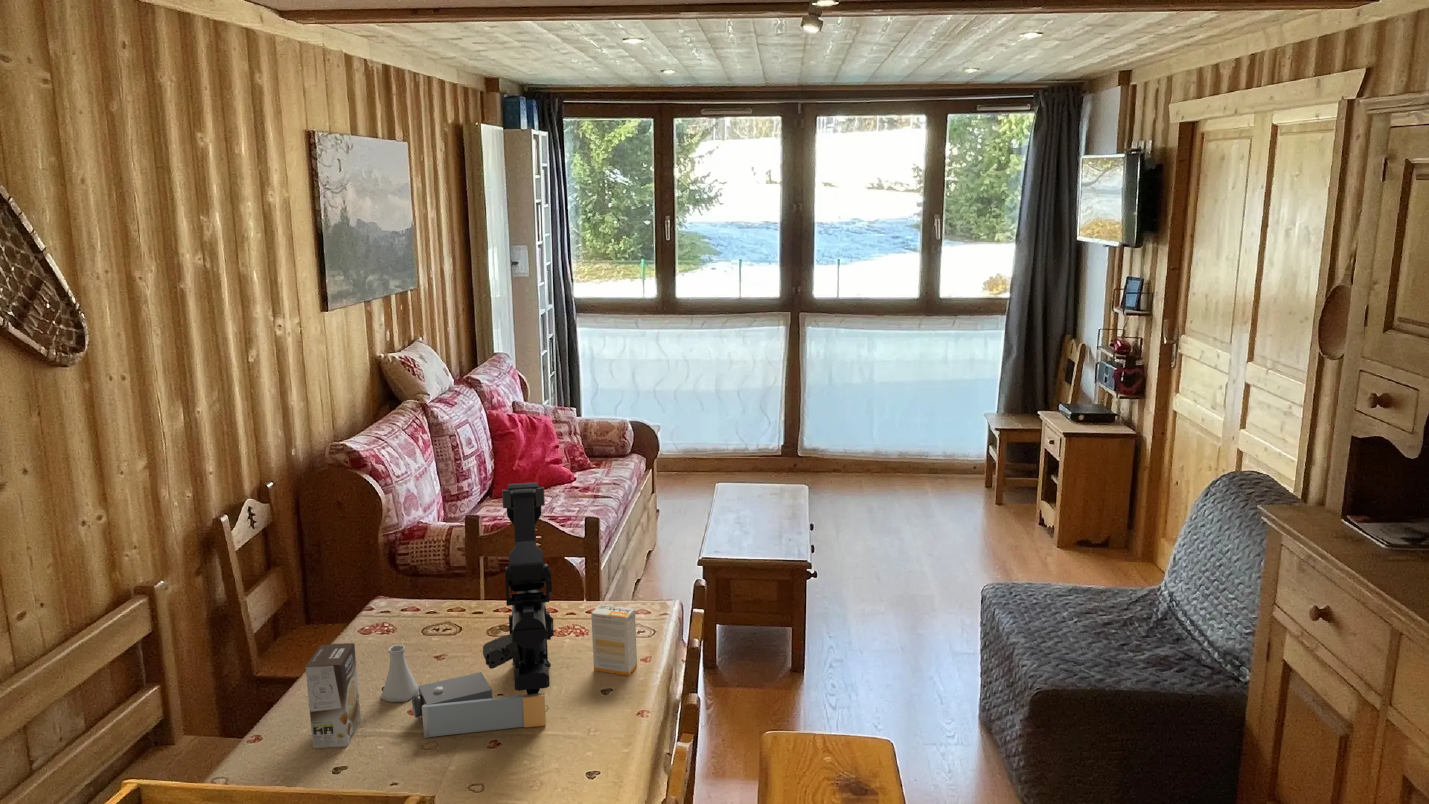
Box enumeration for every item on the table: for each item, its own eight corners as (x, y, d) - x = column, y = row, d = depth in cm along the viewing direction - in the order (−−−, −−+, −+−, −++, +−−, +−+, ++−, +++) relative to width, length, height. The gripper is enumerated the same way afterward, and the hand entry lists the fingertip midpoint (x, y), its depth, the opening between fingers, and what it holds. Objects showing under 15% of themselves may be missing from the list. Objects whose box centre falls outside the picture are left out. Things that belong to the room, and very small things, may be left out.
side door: (545, 721, 187) (544, 692, 186) (545, 725, 186) (544, 695, 184) (424, 734, 183) (422, 704, 181) (423, 738, 181) (421, 708, 180)
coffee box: (348, 747, 179) (341, 665, 176) (312, 749, 179) (303, 666, 175) (362, 720, 188) (355, 642, 185) (327, 722, 188) (319, 643, 184)
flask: (408, 705, 194) (404, 658, 192) (374, 701, 195) (370, 654, 193) (425, 687, 201) (422, 641, 199) (393, 684, 202) (389, 638, 200)
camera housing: (482, 699, 195) (480, 669, 194) (493, 718, 188) (491, 686, 187) (412, 716, 189) (409, 685, 188) (420, 736, 182) (418, 703, 181)
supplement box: (638, 666, 209) (636, 608, 206) (628, 676, 204) (627, 617, 202) (602, 660, 212) (600, 603, 209) (592, 670, 207) (590, 612, 204)
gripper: (485, 606, 191) (488, 681, 194) (483, 650, 173) (487, 731, 176) (543, 602, 193) (546, 675, 196) (548, 645, 175) (551, 725, 178)
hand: (531, 700), depth 187 cm, fingers closed
